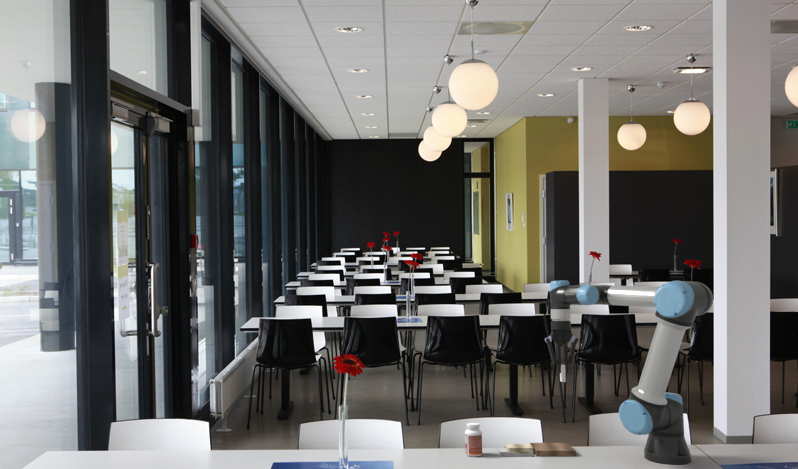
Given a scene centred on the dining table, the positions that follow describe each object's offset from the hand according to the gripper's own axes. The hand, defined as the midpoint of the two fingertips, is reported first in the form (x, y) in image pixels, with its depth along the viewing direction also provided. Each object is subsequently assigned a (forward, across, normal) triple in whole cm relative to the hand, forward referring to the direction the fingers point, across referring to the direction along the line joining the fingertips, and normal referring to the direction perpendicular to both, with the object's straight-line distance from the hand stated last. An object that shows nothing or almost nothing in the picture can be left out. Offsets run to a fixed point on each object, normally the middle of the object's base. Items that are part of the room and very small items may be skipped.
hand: (562, 381), depth 235 cm
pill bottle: (+25, +36, +12) cm, 45 cm away
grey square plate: (+24, +20, +9) cm, 33 cm away
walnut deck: (+24, +7, +9) cm, 27 cm away
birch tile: (+24, +19, +9) cm, 32 cm away
